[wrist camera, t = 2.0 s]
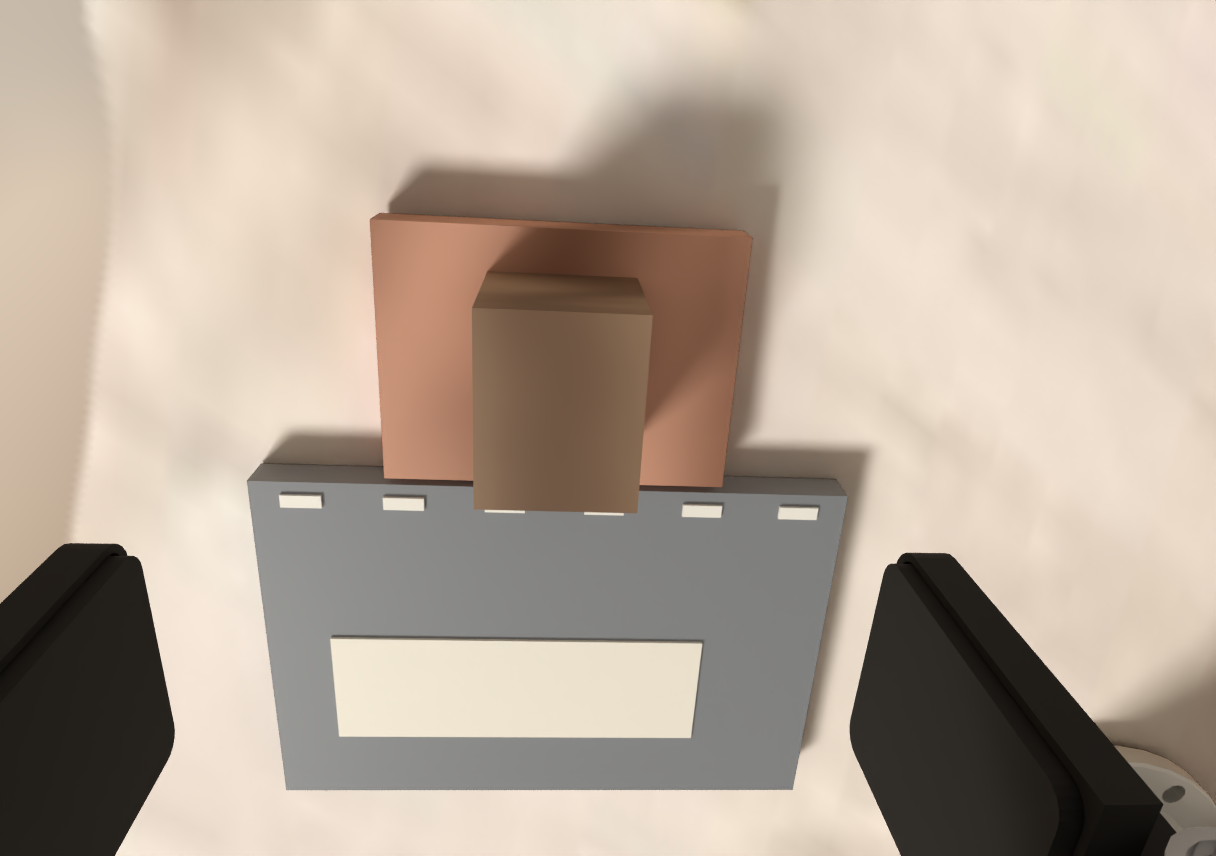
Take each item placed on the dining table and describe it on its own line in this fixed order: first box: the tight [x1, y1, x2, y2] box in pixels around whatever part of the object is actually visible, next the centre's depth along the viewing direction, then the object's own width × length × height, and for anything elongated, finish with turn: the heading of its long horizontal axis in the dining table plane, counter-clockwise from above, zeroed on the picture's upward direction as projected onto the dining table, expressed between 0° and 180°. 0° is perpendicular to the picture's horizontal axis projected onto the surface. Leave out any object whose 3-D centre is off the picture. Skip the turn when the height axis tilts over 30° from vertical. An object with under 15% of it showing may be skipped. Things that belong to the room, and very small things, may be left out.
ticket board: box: [247, 464, 848, 790], centre depth 27 cm, size 18×12×1 cm, turn 87°
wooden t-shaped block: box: [370, 213, 753, 513], centre depth 21 cm, size 10×7×5 cm
